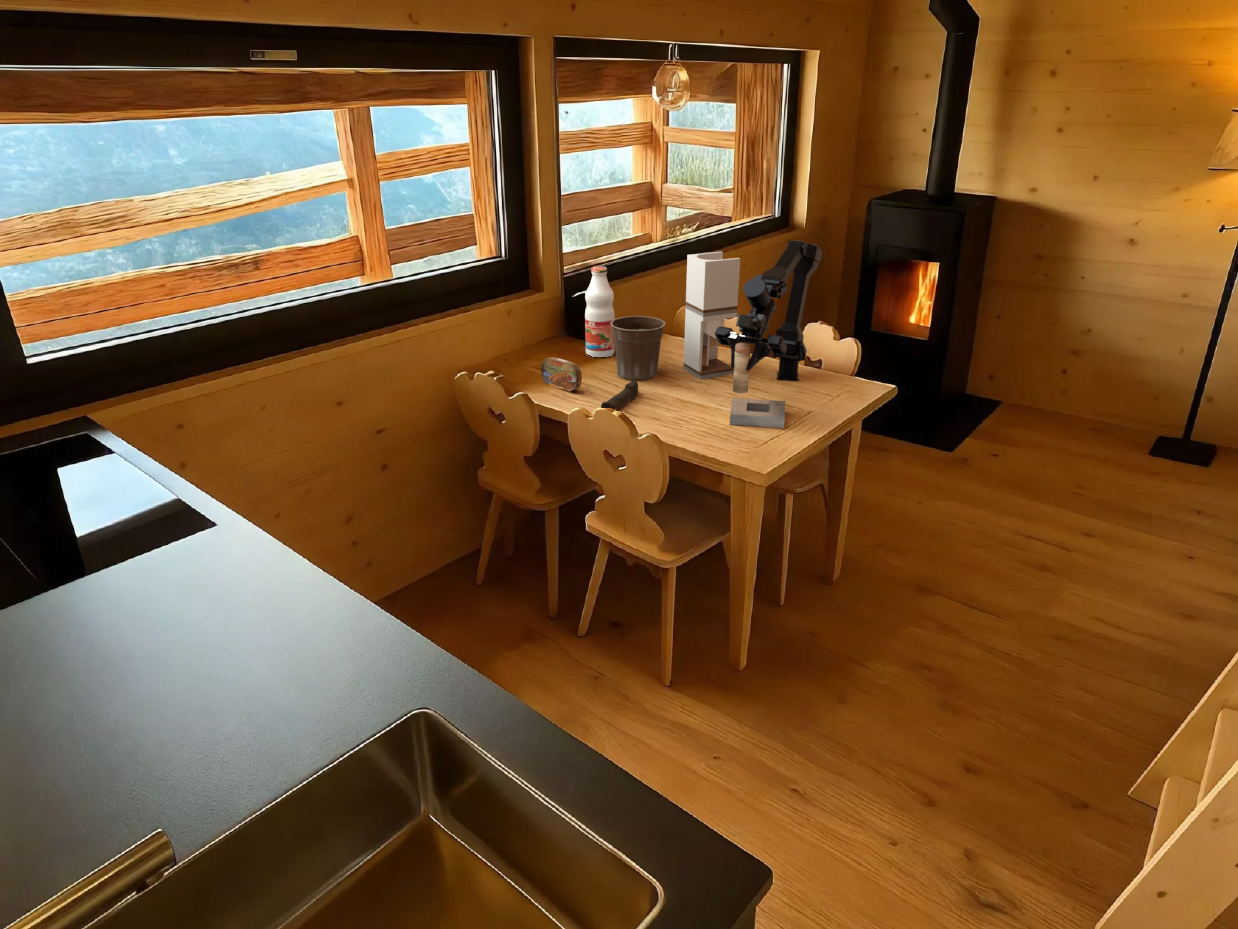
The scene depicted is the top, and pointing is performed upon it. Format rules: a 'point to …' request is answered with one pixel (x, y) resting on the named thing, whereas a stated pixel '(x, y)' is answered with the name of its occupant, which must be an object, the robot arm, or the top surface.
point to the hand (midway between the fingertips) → (739, 368)
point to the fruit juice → (599, 315)
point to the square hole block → (757, 413)
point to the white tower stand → (708, 311)
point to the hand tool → (622, 396)
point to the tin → (561, 373)
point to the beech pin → (741, 368)
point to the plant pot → (637, 346)
